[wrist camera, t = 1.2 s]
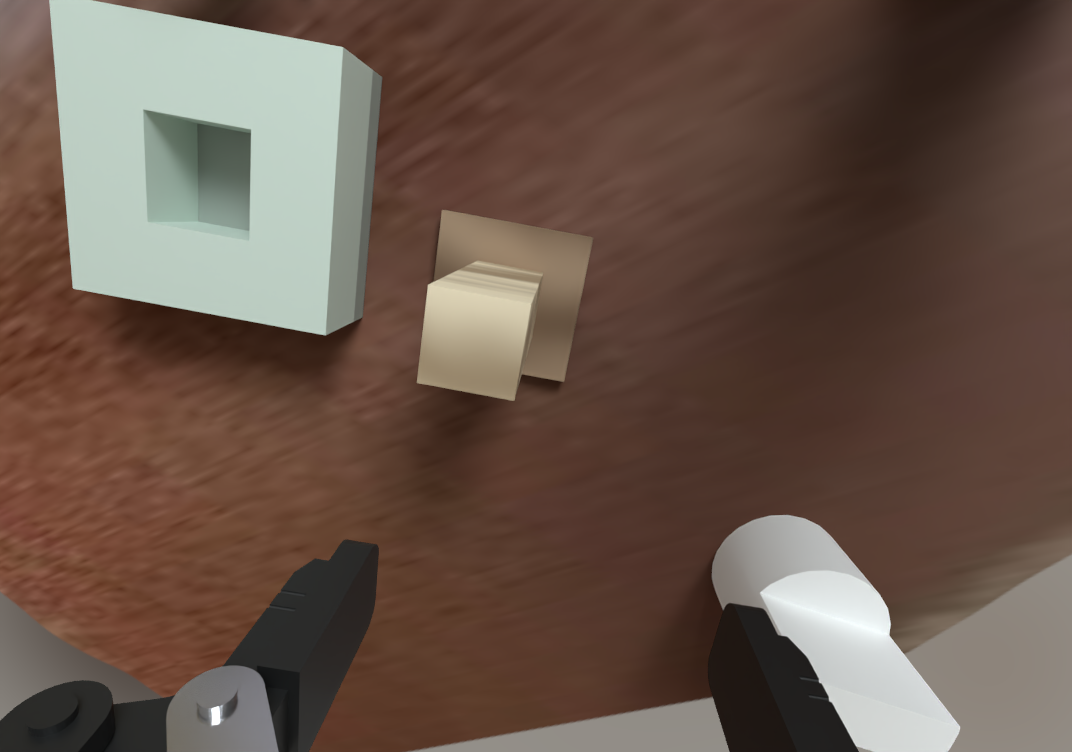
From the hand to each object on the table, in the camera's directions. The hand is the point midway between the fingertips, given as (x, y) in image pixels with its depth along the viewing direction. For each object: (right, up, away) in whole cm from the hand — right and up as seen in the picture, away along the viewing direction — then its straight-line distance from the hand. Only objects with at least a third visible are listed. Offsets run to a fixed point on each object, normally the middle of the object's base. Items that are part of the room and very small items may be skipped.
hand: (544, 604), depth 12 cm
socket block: (-17, +17, +20) cm, 31 cm away
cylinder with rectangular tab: (+17, -9, +26) cm, 32 cm away
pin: (-2, +10, +20) cm, 23 cm away
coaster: (-2, +10, +21) cm, 24 cm away
